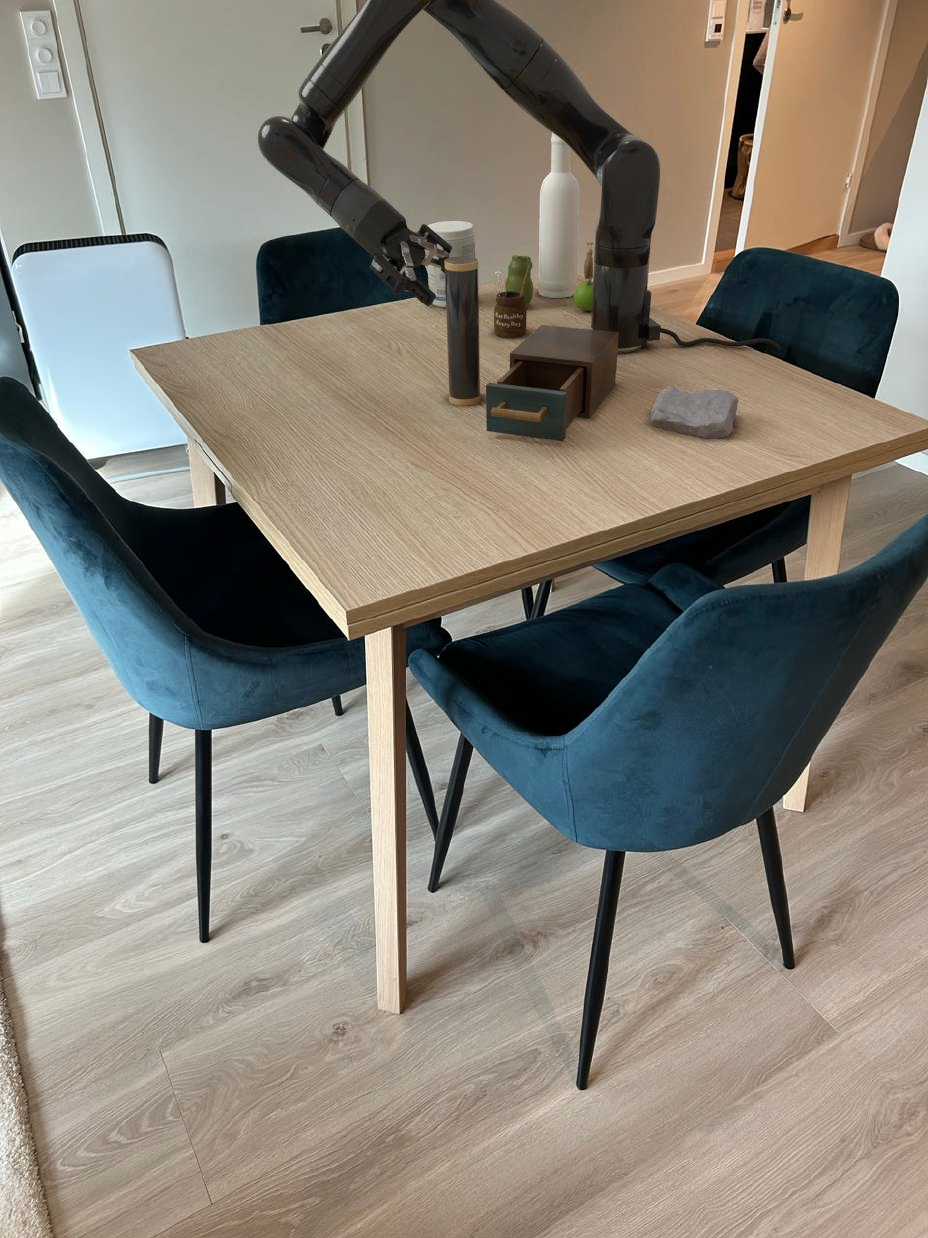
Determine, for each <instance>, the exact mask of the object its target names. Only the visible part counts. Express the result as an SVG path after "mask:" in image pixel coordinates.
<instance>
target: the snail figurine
mask: <svg viewBox="0 0 928 1238" xmlns="http://www.w3.org/2000/svg"><path fill="white" fill-rule="evenodd" d="M593 244H594V242H592V241H590V242H589V241H587V242H586V245H587V246H589V245H590V248H589V247H587V249H586V251H585V255H586V256H585V259H584V265H583V275H584V282H581V283H580V284H579V285H578V284H577V288H576V289H575V291H574V295H573V296H572V299H573V302H574V304H575V307H577V308H578V309H579V310H580V311H583V312H592V294H593V273H594V256H593V254H594V252H593V249H592V245H593Z"/></svg>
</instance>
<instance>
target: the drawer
mask: <svg viewBox="0 0 928 1238" xmlns="http://www.w3.org/2000/svg"><path fill="white" fill-rule="evenodd" d="M586 376H587V367H583V366H574V365H565V364H556V363H547V362H538V361H528V360H519V361H518V362H517V363H516V364H515V365H514V366H513V367H512V368H511V369H510V368H509V369H508V370H507V371H506V372H505V373H504V374H503V375H502V376H501V377H500V378H499V379H498V380H497V381H496V382H488V383H487V384H486V385H485V412H486V413H485V418H486V419H485V420H486V432H489V433H496V434H503V435H511V436H518V437H527V438H533V439H542V440H548V441H555V442H564V441H565V440H566V437H567V435H566V434H567V429H568V428H569V426H571V424H572V423H573V421H574V420H575V419H576V418H577V417H576V416H577V415H578V414H579V413H580V411H581V410H582V409H583V408H584V406H585V398H586Z"/></svg>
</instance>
